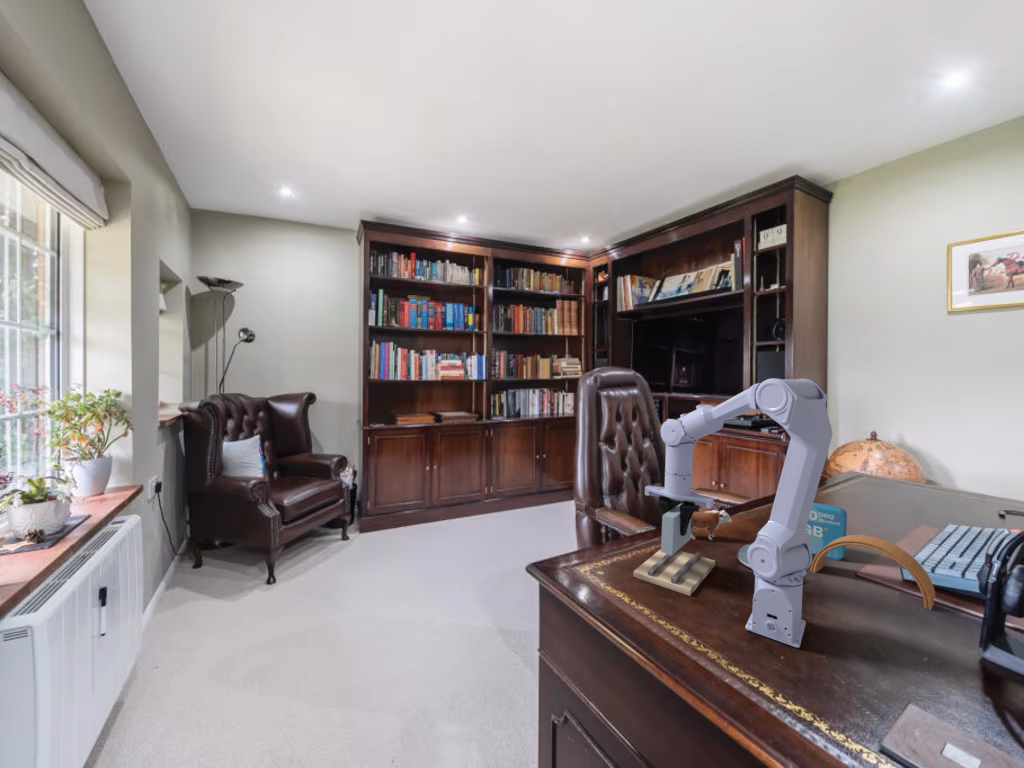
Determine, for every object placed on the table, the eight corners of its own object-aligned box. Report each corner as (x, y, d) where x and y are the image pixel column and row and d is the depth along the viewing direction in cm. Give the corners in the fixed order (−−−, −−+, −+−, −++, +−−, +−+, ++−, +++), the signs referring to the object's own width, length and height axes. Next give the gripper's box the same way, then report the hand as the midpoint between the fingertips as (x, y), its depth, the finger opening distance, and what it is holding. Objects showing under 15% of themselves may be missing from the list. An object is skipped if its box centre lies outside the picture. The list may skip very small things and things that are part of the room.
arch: (818, 565, 103) (820, 523, 102) (936, 601, 87) (938, 552, 86) (810, 571, 99) (811, 528, 99) (930, 611, 83) (933, 560, 83)
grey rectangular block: (672, 555, 92) (673, 517, 92) (661, 551, 94) (662, 515, 93) (690, 539, 101) (691, 505, 101) (679, 536, 103) (681, 503, 103)
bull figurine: (732, 543, 114) (733, 513, 114) (678, 538, 117) (679, 508, 116) (728, 537, 118) (729, 507, 118) (676, 532, 121) (677, 504, 121)
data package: (785, 547, 112) (787, 501, 112) (788, 542, 116) (790, 498, 115) (843, 562, 104) (845, 512, 104) (845, 556, 108) (847, 508, 107)
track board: (689, 595, 87) (690, 585, 87) (633, 576, 95) (633, 566, 94) (714, 565, 101) (715, 556, 101) (663, 551, 108) (663, 542, 108)
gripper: (718, 475, 95) (716, 536, 96) (653, 464, 105) (652, 520, 105) (708, 481, 90) (706, 545, 90) (641, 469, 99) (640, 528, 100)
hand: (676, 532), depth 97 cm, fingers closed on grey rectangular block, 2 cm apart
